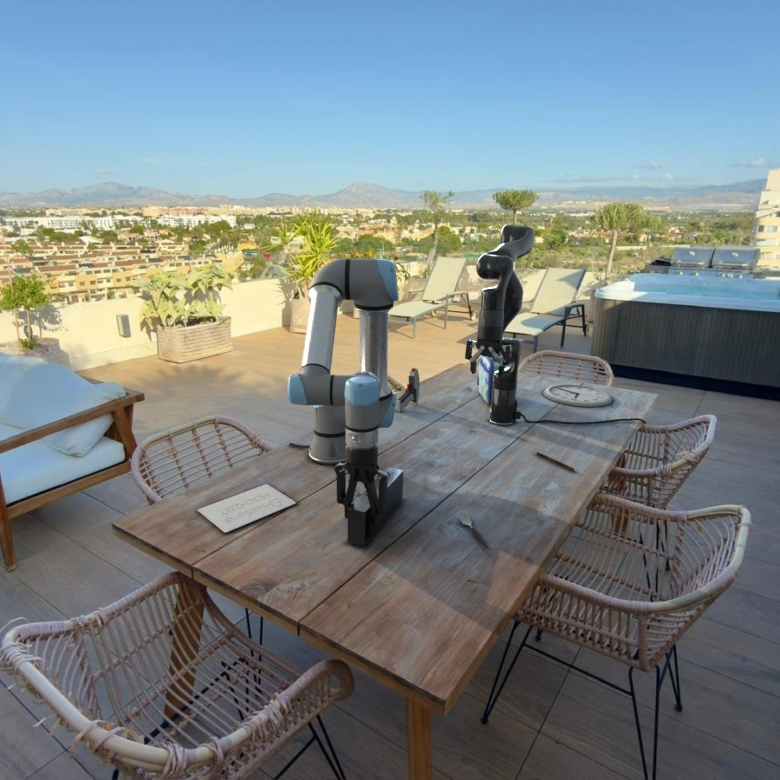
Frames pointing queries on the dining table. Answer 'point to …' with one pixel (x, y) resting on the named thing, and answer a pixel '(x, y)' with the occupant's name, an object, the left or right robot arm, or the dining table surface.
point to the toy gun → (409, 391)
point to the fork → (468, 522)
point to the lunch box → (486, 377)
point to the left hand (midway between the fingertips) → (361, 532)
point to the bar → (362, 508)
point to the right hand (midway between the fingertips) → (486, 375)
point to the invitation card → (246, 507)
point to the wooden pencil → (555, 461)
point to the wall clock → (577, 395)
